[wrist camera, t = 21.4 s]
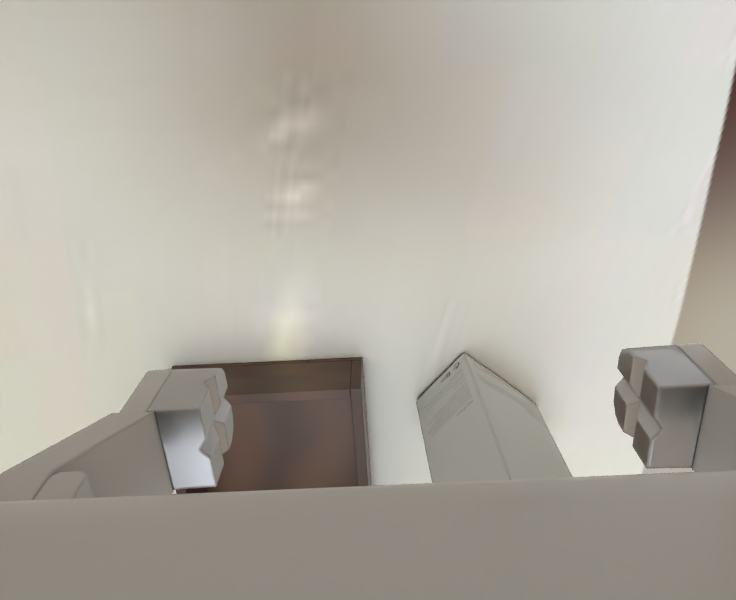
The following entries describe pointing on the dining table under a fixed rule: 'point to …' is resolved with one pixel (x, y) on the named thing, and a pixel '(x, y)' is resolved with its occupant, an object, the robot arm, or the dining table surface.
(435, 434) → the cosmetic box
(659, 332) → the dining table surface
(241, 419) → the crate
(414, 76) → the dining table surface
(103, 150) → the dining table surface
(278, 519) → the robot arm
